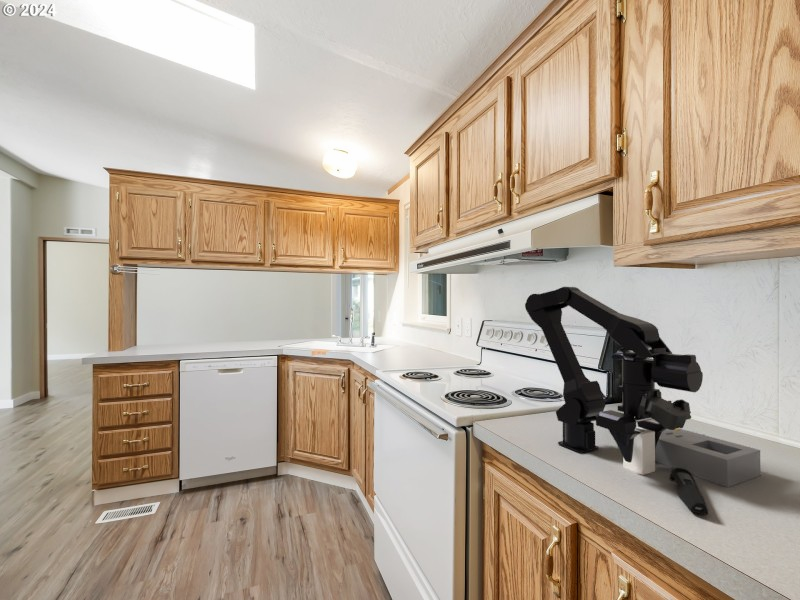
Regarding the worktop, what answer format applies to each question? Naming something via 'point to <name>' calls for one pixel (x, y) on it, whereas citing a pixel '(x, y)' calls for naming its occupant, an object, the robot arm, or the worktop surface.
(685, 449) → the block
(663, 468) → the worktop surface
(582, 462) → the worktop surface
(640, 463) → the block
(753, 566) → the worktop surface
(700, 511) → the electric trimmer
